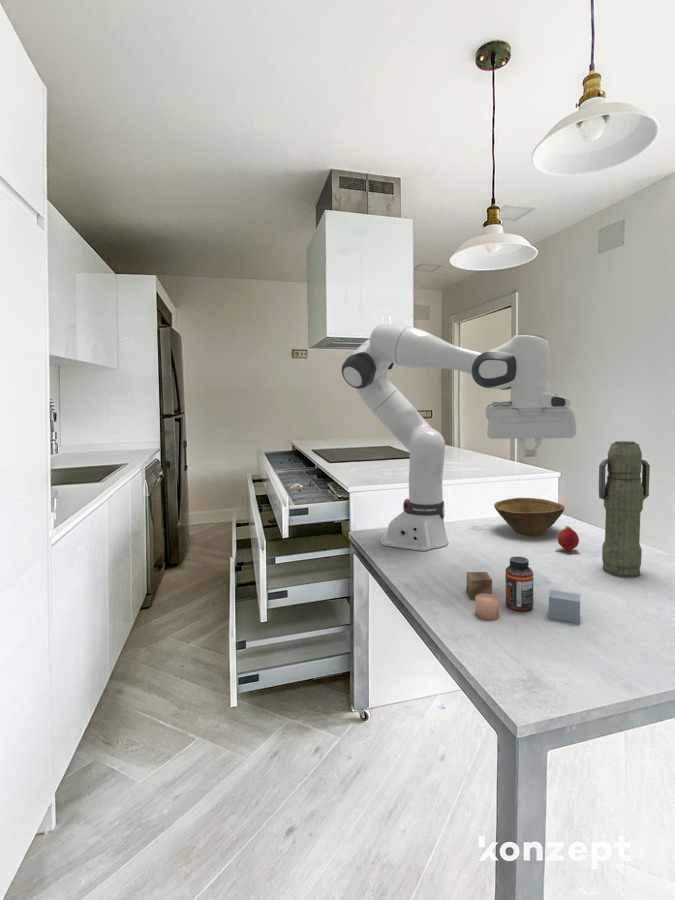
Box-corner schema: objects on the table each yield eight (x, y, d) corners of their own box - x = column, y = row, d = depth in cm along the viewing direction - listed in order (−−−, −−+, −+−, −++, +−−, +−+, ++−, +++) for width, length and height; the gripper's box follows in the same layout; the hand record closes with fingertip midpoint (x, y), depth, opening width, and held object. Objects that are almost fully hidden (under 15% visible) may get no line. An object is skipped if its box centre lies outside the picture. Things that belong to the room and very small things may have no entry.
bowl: (488, 523, 172) (488, 497, 170) (552, 523, 168) (552, 497, 167) (501, 542, 150) (501, 512, 149) (574, 542, 147) (575, 512, 146)
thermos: (654, 576, 118) (659, 442, 114) (609, 578, 118) (613, 444, 114) (632, 564, 127) (636, 439, 123) (590, 566, 127) (592, 441, 123)
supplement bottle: (501, 601, 108) (500, 555, 106) (525, 599, 108) (525, 553, 107) (512, 613, 102) (512, 564, 100) (538, 611, 102) (538, 562, 101)
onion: (574, 547, 142) (574, 522, 141) (582, 554, 136) (582, 528, 135) (554, 548, 142) (554, 523, 141) (561, 554, 136) (562, 528, 136)
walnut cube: (471, 600, 109) (470, 580, 109) (466, 591, 114) (466, 572, 114) (492, 599, 109) (492, 579, 108) (486, 591, 114) (486, 571, 113)
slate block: (548, 618, 99) (548, 596, 98) (549, 610, 102) (550, 589, 102) (579, 624, 96) (580, 601, 95) (580, 616, 99) (580, 594, 99)
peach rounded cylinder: (475, 619, 100) (474, 601, 99) (475, 608, 105) (475, 592, 104) (499, 621, 98) (499, 604, 98) (498, 611, 103) (498, 594, 103)
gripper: (485, 402, 112) (485, 457, 114) (578, 399, 105) (577, 458, 107) (485, 402, 118) (486, 454, 119) (573, 398, 111) (572, 454, 113)
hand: (529, 456), depth 113 cm, fingers closed
